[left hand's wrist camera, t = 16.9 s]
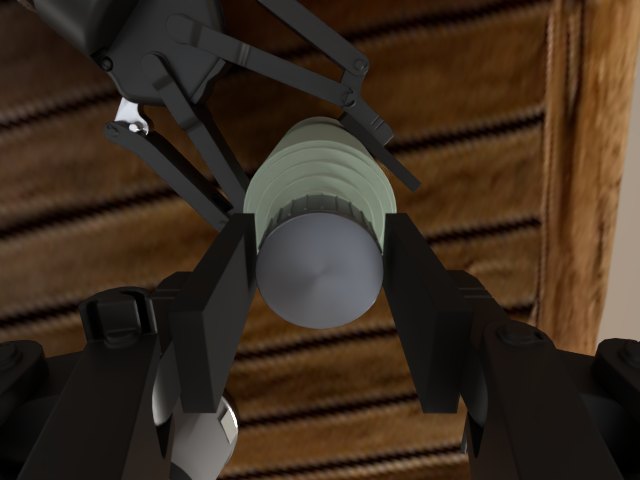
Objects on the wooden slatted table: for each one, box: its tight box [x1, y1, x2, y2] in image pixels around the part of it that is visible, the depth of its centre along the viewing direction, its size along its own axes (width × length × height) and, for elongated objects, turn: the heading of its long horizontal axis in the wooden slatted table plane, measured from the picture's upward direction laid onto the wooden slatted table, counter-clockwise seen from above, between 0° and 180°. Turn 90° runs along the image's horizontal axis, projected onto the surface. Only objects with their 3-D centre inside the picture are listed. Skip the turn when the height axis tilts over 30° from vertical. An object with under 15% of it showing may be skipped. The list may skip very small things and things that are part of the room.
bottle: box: [243, 117, 396, 255], centre depth 22 cm, size 7×7×20 cm
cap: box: [255, 193, 384, 329], centre depth 13 cm, size 4×4×2 cm
